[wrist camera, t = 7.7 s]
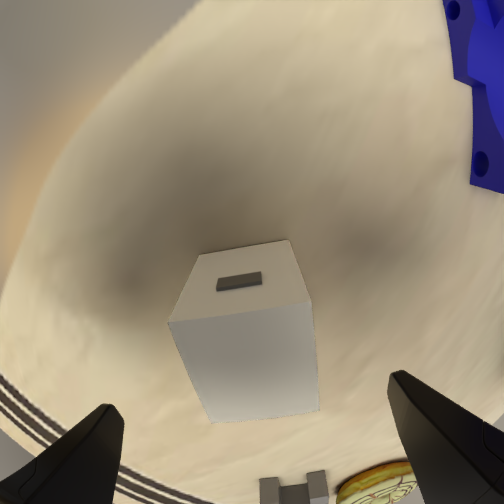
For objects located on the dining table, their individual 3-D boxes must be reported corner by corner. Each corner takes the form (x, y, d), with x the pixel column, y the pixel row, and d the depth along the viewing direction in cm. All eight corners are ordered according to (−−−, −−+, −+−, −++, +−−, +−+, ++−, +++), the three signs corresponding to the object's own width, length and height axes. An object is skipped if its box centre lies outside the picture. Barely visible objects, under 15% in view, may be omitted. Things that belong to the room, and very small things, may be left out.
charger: (288, 236, 14) (311, 296, 8) (305, 370, 17) (321, 449, 11) (198, 252, 14) (166, 317, 9) (235, 380, 17) (230, 459, 11)
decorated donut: (354, 499, 27) (358, 520, 23) (317, 485, 24) (321, 512, 20) (422, 467, 24) (430, 488, 21) (403, 447, 22) (413, 474, 18)
